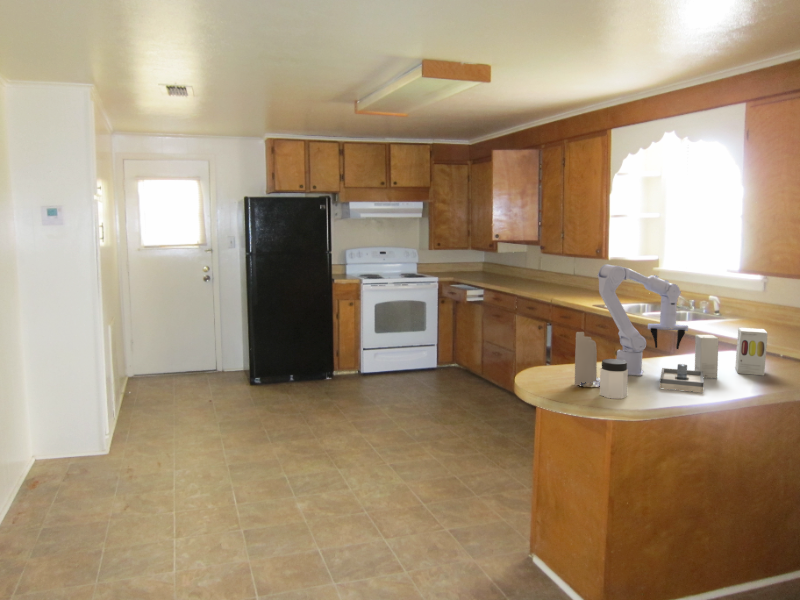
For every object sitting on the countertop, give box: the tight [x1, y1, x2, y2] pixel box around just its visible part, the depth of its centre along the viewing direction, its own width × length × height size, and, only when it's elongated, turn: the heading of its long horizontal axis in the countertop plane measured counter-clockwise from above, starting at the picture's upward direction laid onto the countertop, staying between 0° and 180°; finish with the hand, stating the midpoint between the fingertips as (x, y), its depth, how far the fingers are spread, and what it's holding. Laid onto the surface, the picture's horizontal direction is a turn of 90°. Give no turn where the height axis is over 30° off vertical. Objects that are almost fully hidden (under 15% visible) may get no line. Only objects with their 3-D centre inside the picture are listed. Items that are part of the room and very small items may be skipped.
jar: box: [599, 358, 629, 400], centre depth 216 cm, size 9×8×12 cm
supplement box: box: [734, 327, 769, 376], centre depth 247 cm, size 10×9×17 cm
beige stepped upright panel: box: [574, 331, 598, 386], centre depth 229 cm, size 7×14×20 cm, turn 91°
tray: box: [659, 367, 705, 394], centre depth 230 cm, size 14×18×4 cm
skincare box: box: [694, 334, 720, 379], centre depth 241 cm, size 8×7×16 cm
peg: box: [676, 363, 688, 380], centre depth 231 cm, size 3×3×7 cm
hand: (666, 348), depth 249 cm, fingers open, 7 cm apart
